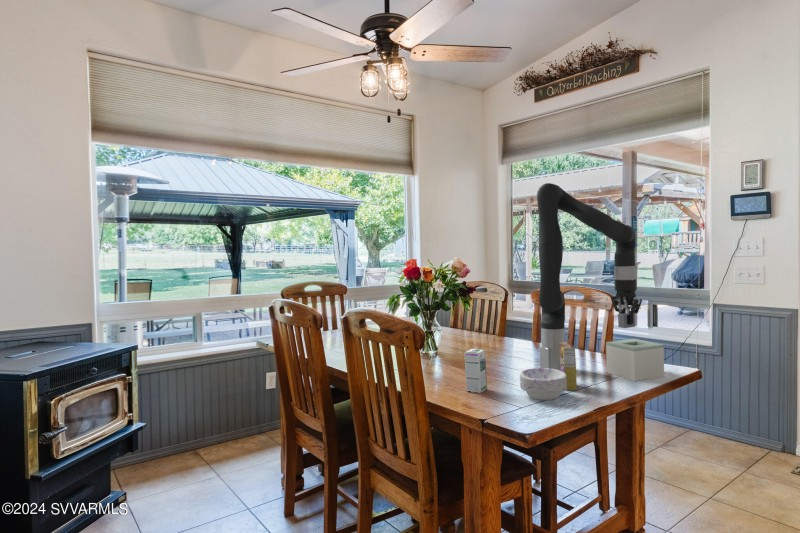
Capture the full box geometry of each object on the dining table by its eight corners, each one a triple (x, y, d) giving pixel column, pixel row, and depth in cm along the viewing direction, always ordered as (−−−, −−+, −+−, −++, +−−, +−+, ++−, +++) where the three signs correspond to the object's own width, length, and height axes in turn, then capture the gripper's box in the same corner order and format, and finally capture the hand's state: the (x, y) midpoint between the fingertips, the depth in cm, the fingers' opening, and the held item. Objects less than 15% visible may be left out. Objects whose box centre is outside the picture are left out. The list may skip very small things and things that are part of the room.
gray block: (624, 328, 179) (623, 314, 179) (618, 327, 182) (617, 313, 182) (635, 326, 181) (634, 313, 181) (629, 325, 184) (628, 312, 184)
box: (634, 381, 176) (633, 348, 176) (606, 372, 190) (606, 342, 189) (664, 376, 181) (663, 344, 180) (635, 368, 194) (634, 338, 194)
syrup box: (481, 393, 170) (479, 352, 169) (465, 391, 173) (464, 351, 172) (487, 389, 175) (485, 349, 174) (472, 387, 178) (470, 348, 177)
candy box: (560, 383, 178) (558, 342, 177) (572, 383, 177) (571, 342, 177) (564, 390, 169) (563, 347, 169) (577, 390, 168) (575, 347, 168)
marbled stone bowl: (540, 406, 154) (539, 381, 154) (511, 394, 168) (510, 371, 168) (577, 398, 160) (576, 374, 160) (546, 387, 174) (545, 365, 174)
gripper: (603, 278, 186) (605, 322, 187) (631, 279, 173) (632, 327, 174) (619, 276, 189) (621, 320, 189) (648, 278, 175) (649, 325, 176)
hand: (626, 323), depth 181 cm, fingers closed on gray block, 2 cm apart
